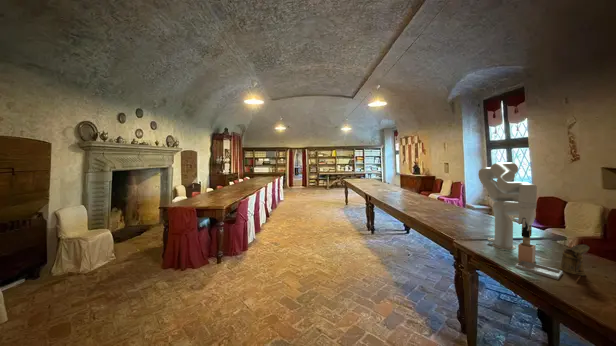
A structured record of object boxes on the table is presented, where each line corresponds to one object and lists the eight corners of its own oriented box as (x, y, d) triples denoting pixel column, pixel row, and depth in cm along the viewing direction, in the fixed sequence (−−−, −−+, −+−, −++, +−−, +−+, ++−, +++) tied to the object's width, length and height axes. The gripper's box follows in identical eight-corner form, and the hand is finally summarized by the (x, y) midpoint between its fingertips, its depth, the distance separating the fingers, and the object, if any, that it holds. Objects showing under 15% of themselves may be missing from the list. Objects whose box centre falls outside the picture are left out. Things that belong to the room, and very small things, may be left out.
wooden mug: (570, 278, 114) (570, 242, 113) (555, 266, 126) (555, 234, 125) (595, 281, 110) (596, 245, 109) (578, 269, 122) (578, 236, 121)
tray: (515, 268, 125) (515, 264, 125) (521, 264, 130) (521, 260, 130) (558, 281, 111) (558, 276, 111) (562, 275, 117) (562, 270, 117)
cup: (518, 261, 133) (518, 244, 133) (521, 259, 137) (521, 242, 136) (532, 265, 128) (532, 247, 128) (535, 262, 131) (535, 245, 131)
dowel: (521, 253, 133) (522, 226, 132) (523, 251, 135) (523, 225, 134) (528, 255, 131) (529, 227, 130) (530, 253, 132) (531, 226, 131)
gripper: (523, 202, 139) (522, 231, 140) (513, 206, 130) (513, 237, 131) (540, 204, 132) (539, 235, 133) (531, 208, 123) (530, 241, 125)
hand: (526, 236), depth 132 cm, fingers closed on dowel, 3 cm apart
